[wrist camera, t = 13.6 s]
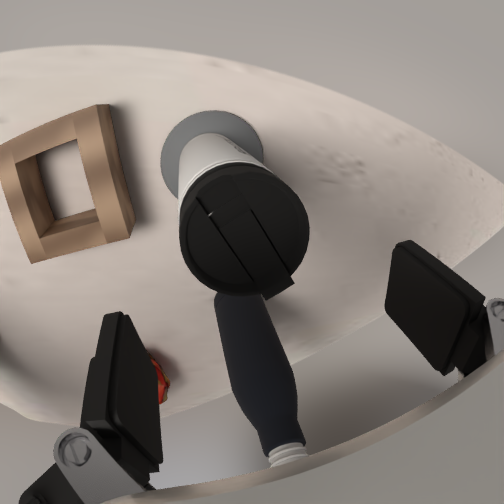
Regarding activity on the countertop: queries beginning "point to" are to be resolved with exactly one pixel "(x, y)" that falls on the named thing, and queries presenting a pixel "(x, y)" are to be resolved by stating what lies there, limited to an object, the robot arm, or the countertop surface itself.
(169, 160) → the coaster
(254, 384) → the black water bottle
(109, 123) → the mug holder
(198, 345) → the countertop surface
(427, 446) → the robot arm
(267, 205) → the travel mug
